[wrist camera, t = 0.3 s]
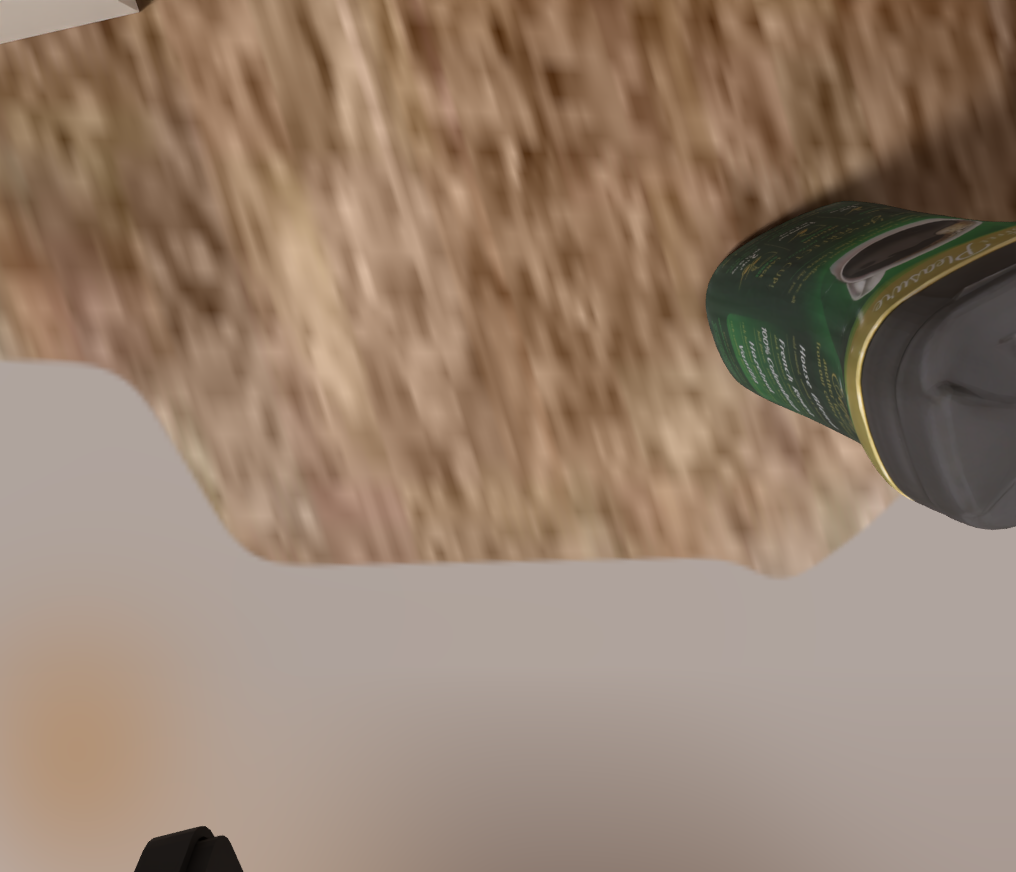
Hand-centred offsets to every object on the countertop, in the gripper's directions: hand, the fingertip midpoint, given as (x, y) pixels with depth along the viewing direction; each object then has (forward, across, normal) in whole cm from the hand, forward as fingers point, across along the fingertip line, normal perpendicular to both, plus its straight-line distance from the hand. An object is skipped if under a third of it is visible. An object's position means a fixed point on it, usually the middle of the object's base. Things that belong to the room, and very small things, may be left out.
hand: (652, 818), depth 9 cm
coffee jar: (+31, -15, +2) cm, 34 cm away
